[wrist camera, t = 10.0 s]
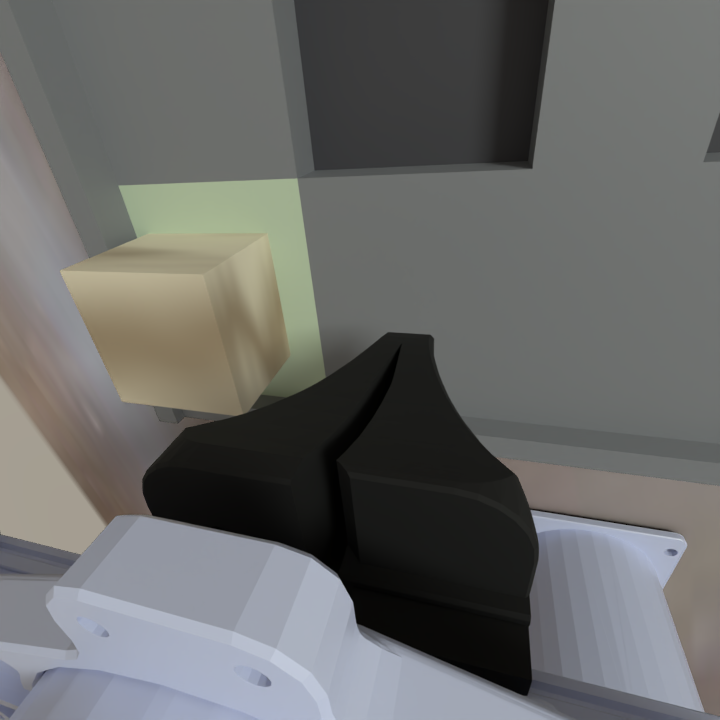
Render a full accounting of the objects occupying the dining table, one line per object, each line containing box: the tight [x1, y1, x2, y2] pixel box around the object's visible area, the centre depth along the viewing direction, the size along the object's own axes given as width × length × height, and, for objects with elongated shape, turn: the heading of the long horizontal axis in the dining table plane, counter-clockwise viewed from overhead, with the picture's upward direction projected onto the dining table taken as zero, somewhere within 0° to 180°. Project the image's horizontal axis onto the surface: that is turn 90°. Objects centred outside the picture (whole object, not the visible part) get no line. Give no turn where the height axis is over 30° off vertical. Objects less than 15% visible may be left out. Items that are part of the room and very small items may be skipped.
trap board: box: [0, 0, 720, 486], centre depth 11 cm, size 18×36×4 cm, turn 94°
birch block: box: [60, 233, 291, 416], centre depth 15 cm, size 5×5×4 cm
